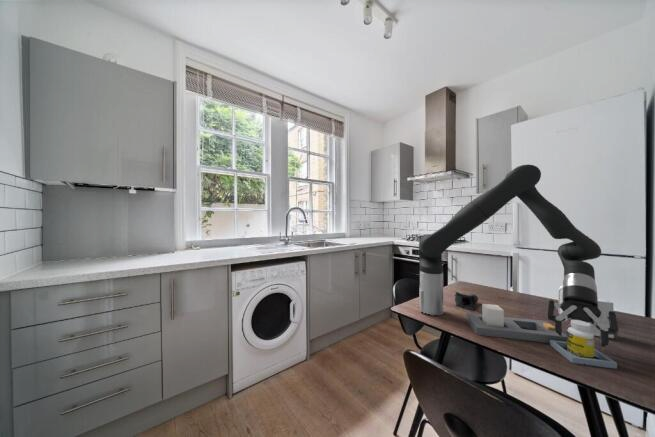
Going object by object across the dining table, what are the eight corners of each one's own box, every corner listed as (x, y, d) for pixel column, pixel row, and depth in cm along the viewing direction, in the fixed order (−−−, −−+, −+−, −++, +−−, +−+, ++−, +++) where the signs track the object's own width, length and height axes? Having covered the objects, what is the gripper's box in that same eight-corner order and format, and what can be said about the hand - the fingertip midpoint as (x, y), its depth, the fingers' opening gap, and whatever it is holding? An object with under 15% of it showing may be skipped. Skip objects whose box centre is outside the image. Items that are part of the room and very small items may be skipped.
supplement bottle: (562, 351, 70) (561, 318, 70) (578, 349, 71) (578, 318, 71) (583, 362, 65) (583, 327, 65) (600, 360, 65) (600, 326, 65)
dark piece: (473, 314, 100) (480, 308, 109) (477, 297, 100) (484, 292, 108) (451, 304, 107) (459, 299, 115) (454, 289, 106) (463, 285, 114)
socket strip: (476, 334, 81) (476, 311, 81) (466, 319, 92) (466, 299, 92) (569, 345, 73) (569, 320, 73) (546, 327, 85) (546, 305, 85)
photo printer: (563, 309, 101) (563, 281, 101) (577, 312, 98) (577, 283, 98) (556, 314, 96) (556, 285, 96) (571, 318, 92) (571, 287, 92)
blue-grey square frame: (572, 362, 65) (572, 357, 65) (549, 344, 74) (549, 339, 74) (617, 368, 62) (617, 363, 62) (588, 349, 71) (588, 344, 71)
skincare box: (605, 333, 81) (605, 298, 81) (614, 338, 77) (614, 302, 77) (581, 329, 83) (581, 296, 83) (589, 335, 79) (589, 300, 79)
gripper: (548, 280, 78) (546, 325, 70) (615, 289, 68) (621, 343, 60) (549, 292, 82) (547, 336, 74) (613, 302, 72) (618, 355, 64)
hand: (580, 339), depth 67 cm, fingers open, 8 cm apart
